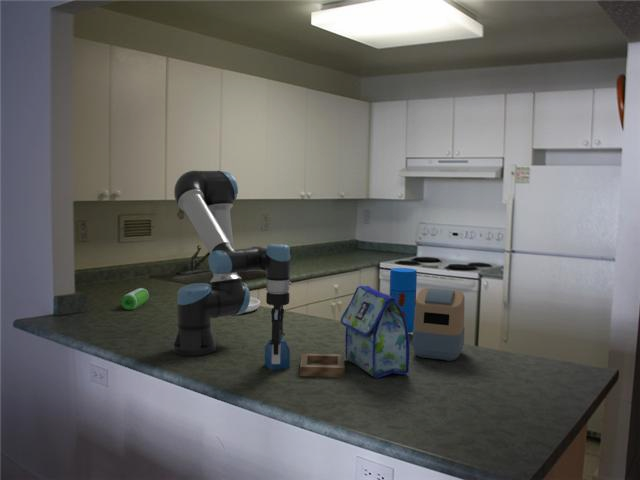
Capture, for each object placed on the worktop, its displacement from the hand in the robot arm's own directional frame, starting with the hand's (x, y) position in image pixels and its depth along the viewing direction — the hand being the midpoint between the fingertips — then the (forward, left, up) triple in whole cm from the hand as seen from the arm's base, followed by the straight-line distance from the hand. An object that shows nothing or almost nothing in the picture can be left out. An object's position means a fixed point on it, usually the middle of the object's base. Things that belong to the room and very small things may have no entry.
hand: (277, 359), depth 200 cm
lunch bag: (+32, +1, -3) cm, 32 cm away
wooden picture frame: (+15, -2, -2) cm, 15 cm away
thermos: (+47, +51, -3) cm, 69 cm away
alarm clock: (+56, +17, -3) cm, 59 cm away
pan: (-35, +87, -3) cm, 94 cm away
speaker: (-74, +83, -3) cm, 111 cm away
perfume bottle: (0, 0, -3) cm, 3 cm away
